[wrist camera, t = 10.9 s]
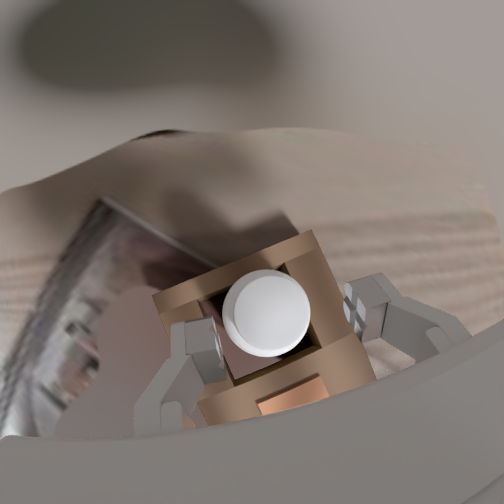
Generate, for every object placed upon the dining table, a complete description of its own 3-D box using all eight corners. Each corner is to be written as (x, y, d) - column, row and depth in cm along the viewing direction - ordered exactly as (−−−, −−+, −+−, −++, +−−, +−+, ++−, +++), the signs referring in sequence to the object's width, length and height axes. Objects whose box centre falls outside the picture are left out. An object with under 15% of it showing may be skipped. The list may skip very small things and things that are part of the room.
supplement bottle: (212, 324, 25) (198, 327, 16) (248, 269, 27) (255, 240, 17) (269, 359, 25) (288, 382, 16) (304, 303, 26) (341, 293, 17)
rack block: (243, 474, 23) (243, 491, 19) (161, 298, 26) (150, 294, 22) (377, 412, 24) (393, 421, 21) (303, 239, 27) (312, 228, 24)
